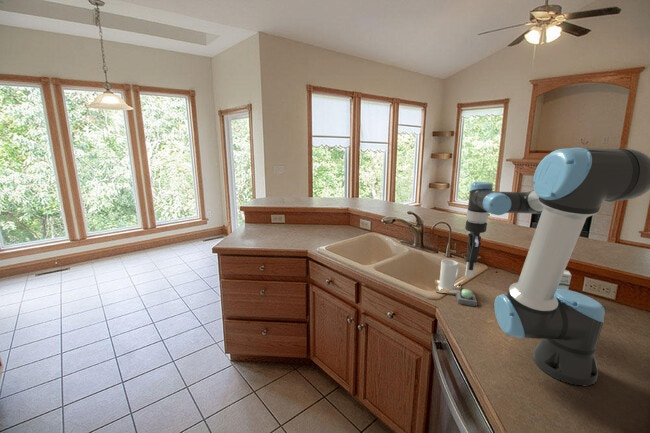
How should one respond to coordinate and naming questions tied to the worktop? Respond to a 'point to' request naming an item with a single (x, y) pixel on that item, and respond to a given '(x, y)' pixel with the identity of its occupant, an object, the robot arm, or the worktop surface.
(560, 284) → the ink box
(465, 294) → the button
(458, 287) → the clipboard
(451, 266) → the mug
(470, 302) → the button base
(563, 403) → the worktop surface
